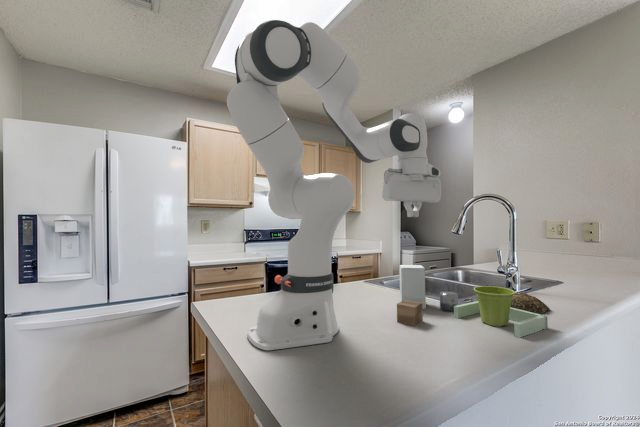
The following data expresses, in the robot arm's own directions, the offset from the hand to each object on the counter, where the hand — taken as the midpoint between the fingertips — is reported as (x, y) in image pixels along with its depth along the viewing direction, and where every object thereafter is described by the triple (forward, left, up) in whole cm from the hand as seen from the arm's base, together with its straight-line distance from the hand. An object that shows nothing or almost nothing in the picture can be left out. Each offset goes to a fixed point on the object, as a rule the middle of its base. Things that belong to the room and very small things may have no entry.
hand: (412, 217), depth 87 cm
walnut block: (-6, -4, -29) cm, 29 cm away
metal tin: (+12, -2, -28) cm, 31 cm away
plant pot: (+12, -16, -29) cm, 35 cm away
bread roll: (+33, -12, -29) cm, 45 cm away
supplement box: (+6, +7, -29) cm, 30 cm away
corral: (+13, -16, -28) cm, 35 cm away
